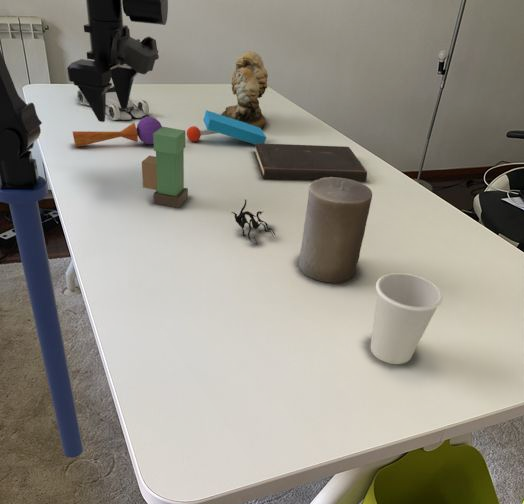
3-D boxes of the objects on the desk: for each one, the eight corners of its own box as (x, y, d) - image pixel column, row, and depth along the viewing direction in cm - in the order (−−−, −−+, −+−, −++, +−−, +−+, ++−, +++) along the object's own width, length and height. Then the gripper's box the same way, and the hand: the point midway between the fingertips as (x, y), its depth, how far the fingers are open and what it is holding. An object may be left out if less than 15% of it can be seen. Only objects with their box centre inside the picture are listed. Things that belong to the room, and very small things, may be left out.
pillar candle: (367, 276, 90) (388, 189, 81) (319, 288, 86) (335, 198, 77) (333, 249, 97) (349, 165, 87) (286, 259, 92) (297, 172, 83)
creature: (279, 235, 101) (240, 216, 102) (288, 210, 98) (248, 191, 98) (263, 253, 95) (223, 234, 96) (273, 228, 92) (231, 207, 93)
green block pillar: (120, 164, 102) (163, 123, 95) (132, 156, 105) (174, 115, 99) (166, 217, 106) (211, 181, 99) (176, 207, 110) (219, 171, 103)
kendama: (70, 123, 124) (158, 114, 129) (76, 151, 127) (162, 140, 132) (71, 126, 119) (163, 117, 124) (78, 155, 122) (166, 144, 127)
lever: (251, 154, 142) (183, 133, 135) (260, 127, 138) (191, 105, 131) (256, 164, 137) (186, 143, 130) (266, 137, 133) (194, 114, 126)
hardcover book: (254, 152, 130) (254, 143, 129) (347, 156, 134) (349, 146, 132) (263, 179, 118) (264, 169, 117) (365, 182, 122) (367, 172, 120)
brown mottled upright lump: (218, 110, 154) (220, 41, 143) (259, 112, 156) (265, 44, 145) (224, 131, 140) (227, 57, 130) (269, 133, 142) (276, 60, 132)
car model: (115, 122, 138) (113, 101, 135) (68, 97, 151) (66, 77, 148) (152, 116, 145) (152, 96, 142) (104, 92, 158) (103, 73, 155)
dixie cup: (359, 364, 73) (375, 301, 66) (362, 327, 79) (377, 267, 73) (423, 375, 72) (445, 313, 66) (420, 338, 78) (440, 278, 72)
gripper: (125, 33, 85) (132, 136, 95) (170, 17, 99) (172, 108, 109) (59, 24, 86) (72, 126, 96) (113, 9, 101) (120, 99, 110)
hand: (113, 114), depth 103 cm, fingers open, 9 cm apart
